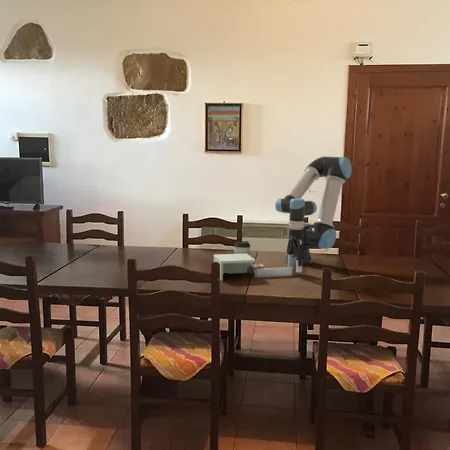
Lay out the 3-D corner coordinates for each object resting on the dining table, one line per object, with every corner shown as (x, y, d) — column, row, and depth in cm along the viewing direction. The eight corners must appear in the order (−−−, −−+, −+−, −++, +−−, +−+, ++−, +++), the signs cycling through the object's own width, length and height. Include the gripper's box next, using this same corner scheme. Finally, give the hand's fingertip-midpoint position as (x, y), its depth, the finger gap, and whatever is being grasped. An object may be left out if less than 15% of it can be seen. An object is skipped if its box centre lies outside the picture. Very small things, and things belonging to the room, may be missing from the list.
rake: (291, 271, 279) (292, 253, 278) (298, 275, 271) (298, 257, 269) (248, 273, 273) (249, 255, 271) (253, 277, 264) (254, 258, 263)
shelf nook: (246, 272, 275) (246, 253, 274) (254, 279, 261) (255, 259, 259) (213, 273, 271) (213, 254, 269) (220, 281, 256) (220, 261, 255)
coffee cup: (236, 270, 278) (236, 243, 276) (231, 266, 287) (232, 240, 285) (252, 269, 281) (252, 242, 278) (246, 265, 289) (247, 239, 287)
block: (260, 272, 275) (261, 263, 274) (263, 275, 270) (264, 266, 269) (251, 273, 274) (252, 264, 273) (254, 275, 269) (255, 266, 268)
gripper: (281, 224, 278) (279, 264, 282) (298, 232, 256) (296, 275, 259) (294, 224, 280) (292, 263, 284) (312, 232, 257) (310, 274, 261)
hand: (294, 269), depth 271 cm, fingers open, 11 cm apart
